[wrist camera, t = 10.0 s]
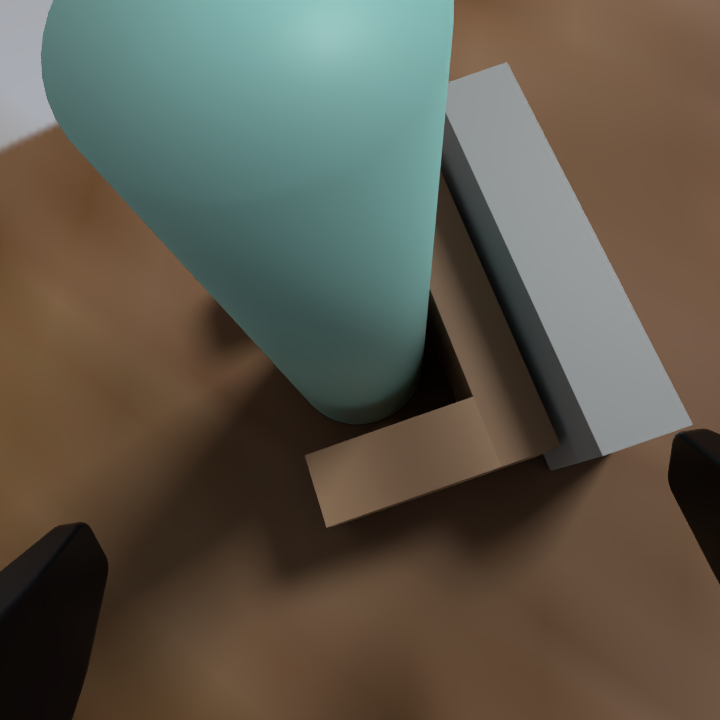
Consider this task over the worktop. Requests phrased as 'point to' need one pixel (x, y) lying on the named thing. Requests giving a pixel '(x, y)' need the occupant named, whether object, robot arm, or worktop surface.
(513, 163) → the backstop
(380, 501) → the block
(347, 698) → the worktop surface
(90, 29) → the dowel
